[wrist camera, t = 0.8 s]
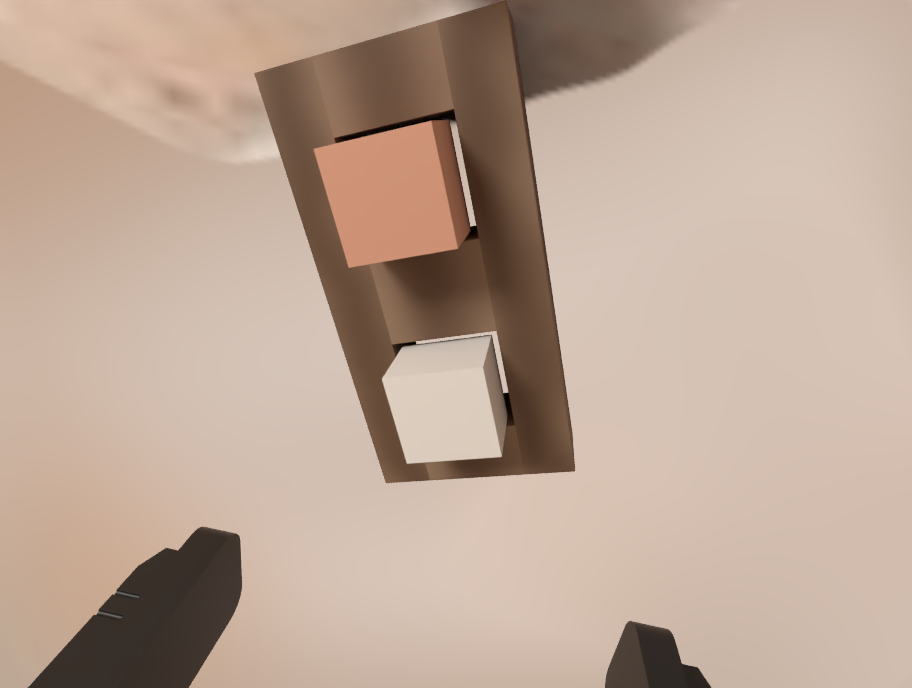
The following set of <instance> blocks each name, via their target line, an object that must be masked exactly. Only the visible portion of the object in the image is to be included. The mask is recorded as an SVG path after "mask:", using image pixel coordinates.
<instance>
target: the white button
mask: <svg viewBox="0 0 912 688" xmlns="http://www.w3.org/2000/svg"><path fill="white" fill-rule="evenodd" d="M382 382H383V385H384V388H385V392H386V395H387V398H388V402H389V405H390V408H391V412H392V415H393V419H394V422H395V425H396V429H397V432H398V435H399V439H400V442H401V445H402V449H403V452H404V456H405V459H406V462H407V464H410V463H424V462H438V461H452V460H466V459H480V458H494V457H502V452H503V445H504V438H505V431H506V424H507V417H508V415H507V410H506V405H505V400H504V394H503V389H502V384H501V380H500V374H499V369H498V365H497V359H496V354H495V349H494V344H493V339H492V335H486V336H478V337H471V338H464V339H455V340H448V341H440V342H432V343H425V344H417V345H409V346H403V347H402V348H401V350H400V351H399V353H398V355H397V356H396V358H395V359H394V361H393V362H392V364H391V365H390V367H389V369H388V370H387V372H386V373H385V375H384V376H383V378H382Z"/></svg>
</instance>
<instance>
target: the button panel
mask: <svg viewBox="0 0 912 688" xmlns="http://www.w3.org/2000/svg"><path fill="white" fill-rule="evenodd" d="M254 74H255V77H256V80H257V83H258V86H259V90H260V93H261V96H262V99H263V102H264V105H265V108H266V111H267V114H268V118H269V121H270V124H271V127H272V130H273V133H274V136H275V139H276V142H277V146H278V149H279V152H280V155H281V158H282V161H283V164H284V167H285V170H286V173H287V177H288V179H289V183H290V186H291V189H292V192H293V195H294V198H295V202H296V205H297V208H298V211H299V214H300V217H301V220H302V223H303V226H304V229H305V233H306V236H307V239H308V242H309V245H310V248H311V251H312V254H313V257H314V261H315V264H316V267H317V270H318V273H319V276H320V279H321V282H322V286H323V289H324V291H325V295H326V298H327V301H328V304H329V307H330V310H331V313H332V316H333V319H334V323H335V326H336V329H337V332H338V335H339V338H340V342H341V345H342V348H343V351H344V354H345V357H346V360H347V363H348V366H349V369H350V372H351V375H352V379H353V382H354V385H355V388H356V391H357V394H358V398H359V400H360V404H361V407H362V410H363V413H364V416H365V419H366V422H367V425H368V429H369V432H370V435H371V438H372V441H373V444H374V447H375V450H376V453H377V457H378V460H379V463H380V466H381V469H382V472H383V475H384V478H385V481H386V483H392V482H393V483H394V482H410V481H425V480H442V479H457V478H474V477H490V476H506V475H521V474H538V473H552V472H553V473H554V472H570V471H575V464H574V452H573V451H574V450H573V436H572V428H571V420H570V414H569V407H568V400H567V394H566V386H565V379H564V372H563V365H562V359H561V351H560V344H559V337H558V330H557V323H556V316H555V309H554V303H553V295H552V288H551V282H550V275H549V268H548V261H547V254H546V247H545V240H544V233H543V227H542V219H541V212H540V205H539V198H538V191H537V184H536V177H535V171H534V163H533V157H532V150H531V143H530V137H529V129H528V122H527V115H526V108H525V101H524V94H523V87H522V80H521V73H520V66H519V59H518V52H517V45H516V38H515V31H514V25H513V18H512V15H511V12H510V10H509V7H508V4H507V2H506V1H503V2H500V3H496V4H493V5H489V6H486V7H482V8H479V9H475V10H472V11H468V12H465V13H462V14H458V15H455V16H451V17H448V18H444V19H441V20H437V21H434V22H430V23H427V24H423V25H420V26H416V27H413V28H410V29H406V30H403V31H399V32H396V33H392V34H389V35H385V36H382V37H378V38H375V39H371V40H368V41H365V42H361V43H358V44H354V45H351V46H347V47H344V48H340V49H337V50H333V51H330V52H326V53H323V54H319V55H316V56H313V57H309V58H306V59H302V60H299V61H295V62H292V63H288V64H285V65H281V66H278V67H274V68H271V69H267V70H264V71H261V72H257V73H254ZM452 113H455V117H456V122H457V127H458V132H459V138H460V143H461V148H462V153H463V159H464V164H465V169H466V173H467V179H468V184H469V189H470V195H471V200H472V205H473V210H474V215H475V221H476V226H472V227H471V231H470V232H469V234H468V235H467V237H466V238H465V240H464V241H463V242H462V244H461V245H460V247H459V248H458V249H454V250H448V251H442V252H437V253H431V254H425V255H419V256H414V257H408V258H402V259H396V260H391V261H385V262H379V263H373V264H368V265H362V266H356V267H351V268H349V267H348V264H347V260H346V257H345V254H344V250H343V247H342V243H341V240H340V237H339V233H338V230H337V227H336V223H335V220H334V217H333V213H332V210H331V206H330V203H329V200H328V196H327V193H326V190H325V186H324V183H323V179H322V176H321V173H320V169H319V166H318V163H317V159H316V156H315V153H314V149H315V148H319V147H324V146H328V145H332V144H336V143H340V142H344V141H349V140H353V139H357V138H361V137H362V135H365V134H369V133H373V132H378V131H382V130H386V129H390V128H394V127H398V126H403V125H407V124H411V123H415V122H419V121H423V120H427V119H432V118H436V117H440V116H444V115H448V114H452ZM490 331H497V335H498V340H499V345H500V350H501V355H502V361H503V366H504V371H505V376H506V381H507V386H508V392H509V393H503V394H504V400H505V405H506V410H507V415H508V417H507V424H506V431H505V438H504V445H503V452H502V457H494V458H480V459H466V460H452V461H438V462H424V463H410V464H407V462H406V459H405V456H404V452H403V449H402V445H401V442H400V439H399V435H398V432H397V429H396V425H395V422H394V419H393V415H392V412H391V408H390V405H389V402H388V398H387V395H386V392H385V388H384V385H383V382H382V378H383V376H384V375H385V373H386V372H387V370H388V369H389V367H390V365H391V364H392V362H393V361H394V359H395V358H396V356H397V355H398V353H399V351H400V350H401V348H402V347H403V346H409V345H417V344H416V341H422V340H429V339H437V338H445V337H452V336H460V335H467V334H475V333H482V332H490Z"/></svg>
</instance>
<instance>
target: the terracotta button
mask: <svg viewBox="0 0 912 688" xmlns="http://www.w3.org/2000/svg"><path fill="white" fill-rule="evenodd" d="M314 153H315V156H316V159H317V163H318V166H319V169H320V173H321V176H322V179H323V183H324V186H325V190H326V193H327V196H328V200H329V203H330V206H331V210H332V213H333V217H334V220H335V223H336V227H337V230H338V233H339V237H340V240H341V243H342V247H343V250H344V254H345V257H346V260H347V264H348V267H349V268H351V267H356V266H362V265H368V264H373V263H379V262H385V261H391V260H396V259H402V258H408V257H414V256H419V255H425V254H431V253H437V252H442V251H448V250H454V249H458V248H459V247H460V245H461V244H462V242H463V241H464V240H465V238H466V237H467V235H468V234H469V232H470V231H471V227H470V222H469V217H468V212H467V207H466V202H465V197H464V192H463V187H462V182H461V177H460V172H459V167H458V162H457V157H456V152H455V147H454V141H453V137H452V131H451V126H450V121H449V120H438V121H428V122H424V123H419V124H415V125H411V126H407V127H403V128H399V129H394V130H390V131H386V132H382V133H378V134H374V135H369V136H365V137H361V138H357V139H353V140H349V141H344V142H340V143H336V144H332V145H328V146H324V147H319V148H315V149H314Z"/></svg>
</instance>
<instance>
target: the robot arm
mask: <svg viewBox="0 0 912 688" xmlns="http://www.w3.org/2000/svg"><path fill="white" fill-rule="evenodd" d="M240 549H241V548H240V537H239V535H237V534H235V533H230V532H226V531H221V530H216V529H211V528H207V527H200V528H198V529H197V530H196V531H195V532H194V533H193V534H192V535H191V536H190V537H189V539H188V540H187V541H186V542H185V543H184V544H183V546H182V547H181V548H180V549H179V550H178V551H177V550H173V549H169V548H166V549H164V550H162V551H161V552H159V553H158V554H156V555H155V556H153V557H151V558H150V559H149V560H147V561H145V562H144V563H142V564H141V565H139V566H138V567H137V568H136V569H135V570H134V571H133V572H132V574H131V575H130V576H129V577H128V578H127V579H126V580H125V581H124V582H123V583H122V585H121V586H120V587H119V588H118V589H117V592H116V593H115V595H112V596H111V597H110V598H109V599H108V600H107V601H106V602H105V603H104V605H102V607H101V608H100V609H99V612H98V613H97V615H93V616H92V618H91V619H90V620H89V621H88V622H87V623H86V624H85V625H84V626H83V628H82V629H81V630H80V631H79V632H78V633H77V634H76V635H75V636H74V638H73V639H72V640H71V641H70V642H69V643H68V644H67V645H66V646H65V647H64V648H63V650H62V651H61V652H60V653H59V654H58V655H57V656H56V657H55V658H54V660H53V661H52V662H51V663H50V664H49V665H48V666H47V667H46V668H45V669H44V671H43V672H42V673H41V674H40V675H39V676H38V677H37V678H36V679H35V681H34V682H33V683H32V684H31V685H30V686H29V687H28V688H189V686H190V685H191V683H192V681H193V679H194V678H195V676H196V675H197V673H198V672H199V670H200V668H201V667H202V665H203V663H204V662H205V660H206V659H207V657H208V655H209V654H210V652H211V650H212V649H213V647H214V645H215V644H216V642H217V641H218V639H219V637H220V636H221V634H222V632H223V631H224V629H225V628H226V626H227V624H228V623H229V621H230V619H231V617H232V616H233V614H234V612H235V609H236V607H237V605H238V602H239V599H240V595H241V590H242V574H241V550H240ZM605 683H606V684H605V688H711V687H710V685H709V684H708V682H707V681H706V679H705V678H704V676H703V675H702V673H701V672H700V670H699V669H698V668H697V667H693V666H688V665H684V664H682V663H681V660H680V656H679V653H678V649H677V646H676V643H675V639H674V637H673V634H672V633H671V631H669V630H668V629H664V628H660V627H655V626H650V625H646V624H641V623H637V622H632V621H629V622H628V623H627V624H626V626H625V628H624V631H623V633H622V636H621V638H620V641H619V643H618V645H617V648H616V651H615V653H614V655H613V658H612V660H611V663H610V665H609V668H608V671H607V675H606V682H605Z"/></svg>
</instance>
